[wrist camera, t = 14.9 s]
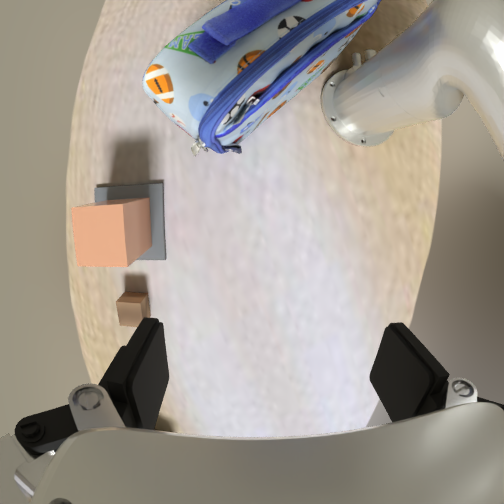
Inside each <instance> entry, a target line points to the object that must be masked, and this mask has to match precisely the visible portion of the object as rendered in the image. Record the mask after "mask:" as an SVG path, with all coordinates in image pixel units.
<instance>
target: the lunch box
mask: <svg viewBox="0 0 504 504" xmlns="http://www.w3.org/2000/svg"><path fill="white" fill-rule="evenodd" d="M380 1H381V0H226V1H224V2H223V3H221V4H220V5H218V6H217V7H215V8H214V9H213V10H211V11H210V12H208V13H207V14H205V15H204V16H203V17H201V18H200V19H199V20H198V21H196V22H195V23H193V24H192V25H191V26H189V27H188V28H187V29H186V30H184V31H183V32H182V33H180V34H179V35H178V36H177V37H176V38H174V39H173V40H172V41H171V42H170V43H169V44H168V45H166V46H165V47H164V48H163V49H162V50H161V51H160V52H159V54H158V55H157V56H156V57H155V58H154V59H153V60H152V62H151V63H150V65H149V66H148V68H147V70H146V72H145V74H144V76H143V89H144V91H145V92H146V94H147V95H148V96H149V97H150V98H151V99H152V100H153V101H154V103H155V104H156V105H157V106H158V107H159V108H160V110H161V111H162V112H163V113H164V114H165V115H166V116H167V117H168V118H169V119H170V120H171V121H172V122H174V123H175V124H176V125H177V126H179V127H180V128H181V129H183V130H184V131H185V132H187V133H188V134H189V135H190V136H191V137H193V138H194V139H195V140H197V141H195V143H194V144H193V145H192V147H191V150H192V152H193V155H194V156H196V155H197V153H198V152H199V150H200V147H202V148H203V149H204V150H205V151H207V152H208V149H207V148H211V149H212V150H213V151H215V152H217V153H220V154H222V153H225V152H228V151H233V152H237V153H239V154H240V153H242V151H241V146H240V145H238V144H239V143H240V142H241V141H243V140H244V139H245V138H246V137H247V136H248V135H249V134H251V133H252V132H253V131H254V130H255V129H256V128H257V127H258V126H259V125H260V124H262V123H263V122H264V121H265V120H266V119H268V118H269V117H270V116H271V115H272V114H274V113H275V112H276V111H277V110H279V109H280V108H281V107H282V106H283V105H284V104H286V103H287V102H288V101H289V100H291V99H292V98H293V97H294V96H295V95H297V94H298V93H299V92H300V91H301V90H302V89H303V88H305V87H306V86H307V85H308V84H310V83H311V82H312V81H313V80H314V79H316V78H317V77H318V76H319V75H320V74H322V73H323V72H324V71H325V70H326V69H327V68H328V67H329V66H330V65H331V63H332V62H333V61H334V60H335V59H336V58H337V56H338V55H339V54H340V53H341V51H342V50H343V49H344V48H345V47H346V46H347V45H348V43H349V42H350V41H351V40H352V39H353V37H354V36H355V35H356V33H357V32H358V30H359V29H360V28H361V26H362V25H363V23H364V22H365V21H367V20H368V19H369V18H370V17H371V16H372V15H373V13H374V12H375V10H376V9H377V6H378V5H379V3H380Z"/></svg>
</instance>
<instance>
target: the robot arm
mask: <svg viewBox="0 0 504 504" xmlns="http://www.w3.org/2000/svg"><path fill="white" fill-rule="evenodd" d="M364 53H365V61H366V62H365V63H364V64H363V65H361V62H362V61H361V54H359V53H353V54H352V61H353V66H352V67H351V68H350V69H346V70H342V71H339V72H337V73H336V74H334V75H333V76H332V77H331V78H330V79H329V80H328V81H327V83H326V84H325V86H324V88H323V91H322V96H321V105H322V110H323V114H324V116H325V118H326V121H327V122H328V124H329V125H330V127H331V128H332V129H333V131H334V132H335V133H336V134H337V135H338V136H340V137H341V138H342V139H344V140H345V141H347V142H348V143H351V144H353V145H356V146H361V147H371V146H376V145H379V144H382V143H383V142H385V141H386V140H388V138H389V137H390V136H391V135H392V134H393V132H394V130H396V129H400V128H405V127H409V126H413V125H417V124H421V123H426V122H430V121H435V120H439V119H443V118H445V117H448V116H449V115H451V114H452V113H453V112H454V111H455V110H456V109H457V108H458V106H459V105H460V103H461V101H462V99H463V97H464V95H465V96H466V97H467V99H468V100H469V102H470V103H471V105H472V106H473V108H474V109H475V111H476V112H477V113H478V115H479V116H480V118H481V120H482V122H483V123H484V125H485V127H486V129H487V130H488V132H489V134H490V136H491V138H492V140H493V141H494V143H495V145H496V147H497V149H498V151H499V153H500V155H501V157H502V159H503V161H504V0H433V1H432V2H431V3H430V4H429V6H428V7H427V8H426V9H425V10H424V12H423V13H422V14H421V15H420V16H419V17H418V18H417V19H416V20H415V22H414V23H413V24H412V25H411V26H410V27H408V28H407V29H406V30H405V31H404V32H402V33H401V34H400V35H399V36H398V37H396V38H395V39H394V40H393V41H391V42H390V43H389V44H387V45H386V46H385V47H384V48H383V49H381V50H380V51H379V52H377V53H376V51H375V50H371V49H369V50H365V52H364ZM330 85H332V86H330ZM331 118H332V119H333V121H332V120H331ZM361 140H362V141H363V142H361ZM448 377H449V373H448V372H447V371H446V370H445V369H444V367H443V366H442V365H441V364H440V363H439V362H438V361H437V360H436V358H435V357H434V356H433V355H432V354H431V353H430V352H429V351H428V349H427V348H426V347H425V346H424V345H423V344H422V343H421V342H420V341H419V340H418V339H417V338H416V336H415V335H414V334H413V333H412V332H411V331H410V330H409V329H408V328H407V327H406V326H405V325H404V324H403V323H390V324H389V325H388V327H386V328H385V331H384V334H383V337H382V340H381V343H380V347H379V350H378V353H377V356H376V359H375V361H374V364H373V367H372V370H371V373H370V381H371V383H372V385H373V387H374V389H375V391H376V392H377V394H378V396H379V398H380V400H381V402H382V403H383V405H384V407H385V409H386V411H387V413H388V415H389V417H390V419H391V420H392V423H388V424H382V425H378V426H372V427H367V428H361V429H355V430H349V431H342V432H334V433H325V434H316V435H304V436H288V437H222V436H206V435H193V434H182V433H174V432H166V431H157V430H154V428H155V424H156V421H157V417H158V414H159V411H160V407H161V404H162V401H163V397H164V394H165V391H166V388H167V384H168V381H169V370H168V362H167V354H166V346H165V337H164V327H163V323H162V322H159V320H158V319H157V318H148V317H144V318H143V319H142V321H141V322H140V324H139V326H138V327H137V329H136V331H135V332H134V334H133V335H132V337H131V339H130V340H129V342H128V344H127V345H126V346H122V347H121V348H120V349H119V351H118V353H117V354H116V356H115V357H114V359H113V361H112V362H111V364H110V366H109V367H108V369H107V371H106V372H105V374H104V376H103V378H102V379H101V381H100V383H99V384H98V385H96V384H83V385H81V386H78V387H76V388H75V389H73V390H72V392H71V393H70V395H69V398H68V400H69V404H68V405H65V406H61V407H58V408H55V409H52V410H48V411H45V412H42V413H38V414H34V415H31V416H27V417H25V418H23V419H21V420H20V421H19V422H18V424H17V425H16V428H15V434H14V435H12V436H10V434H6V435H5V436H3V437H1V438H0V504H504V405H502V404H499V403H496V402H493V401H489V400H486V399H483V398H479V397H477V389H476V387H475V386H474V384H473V383H472V382H470V381H468V380H467V379H464V378H454V379H452V380H451V381H450V382H448V381H447V379H448Z"/></svg>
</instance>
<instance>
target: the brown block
mask: <svg viewBox="0 0 504 504" xmlns="http://www.w3.org/2000/svg"><path fill="white" fill-rule="evenodd" d="M116 305H117V311H118V317H119V323H120V325H121V326H130V327H138V326H139V324H140V322H141V321H142V319H143V318H144V317H148V318H150V307H149V298H148V293H137V292H124V293H123V294H122V296H121V297H120V298H119V299H118V300H117V301H116Z"/></svg>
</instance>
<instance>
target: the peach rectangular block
mask: <svg viewBox="0 0 504 504" xmlns="http://www.w3.org/2000/svg"><path fill="white" fill-rule="evenodd" d="M72 222H73V233H74V242H75V250H76V258H77V265H78V266H99V267H128V266H129V265H130V264H132V263H133V262H134V261H135V260H136V259H137V258H139V257H140V256H141V255H142V254H143V253H145V252H146V251H147V250H148V249H149V248H150V247H152V238H151V221H150V198H134V199H118V200H105V201H100V202H96V203H91V204H86V205H82V206H77V207H73V208H72Z"/></svg>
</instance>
